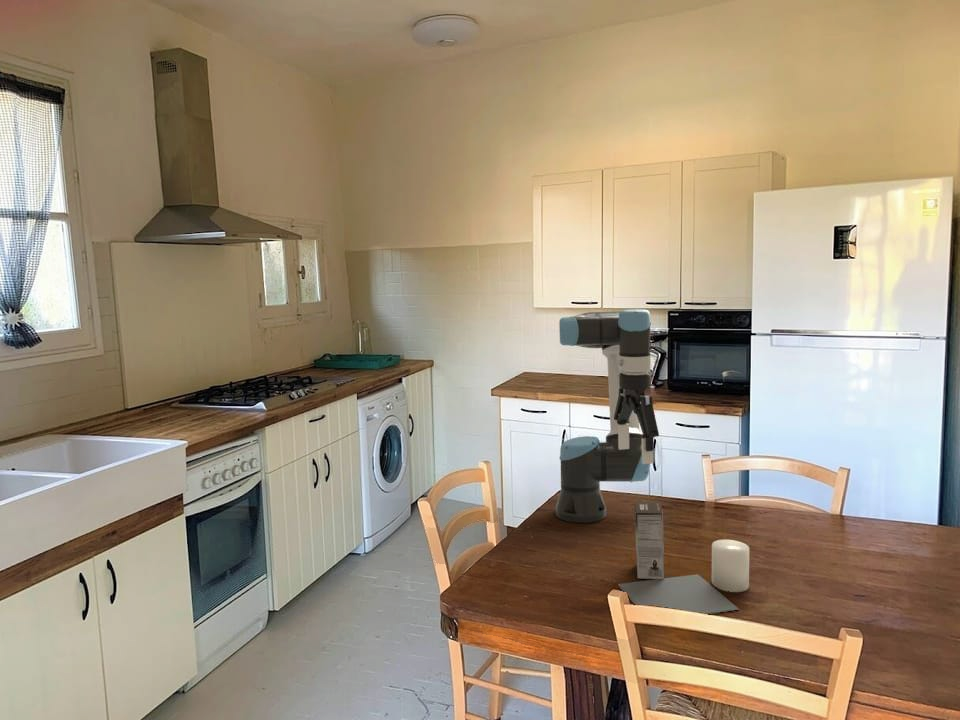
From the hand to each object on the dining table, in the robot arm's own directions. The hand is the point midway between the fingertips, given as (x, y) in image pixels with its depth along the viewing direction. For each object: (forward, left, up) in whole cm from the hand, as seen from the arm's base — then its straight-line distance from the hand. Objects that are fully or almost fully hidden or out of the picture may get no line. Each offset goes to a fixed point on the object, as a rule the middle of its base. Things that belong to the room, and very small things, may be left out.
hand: (635, 456), depth 163 cm
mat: (+23, -1, -26) cm, 35 cm away
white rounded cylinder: (+20, +14, -26) cm, 36 cm away
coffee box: (+10, -1, -26) cm, 28 cm away
